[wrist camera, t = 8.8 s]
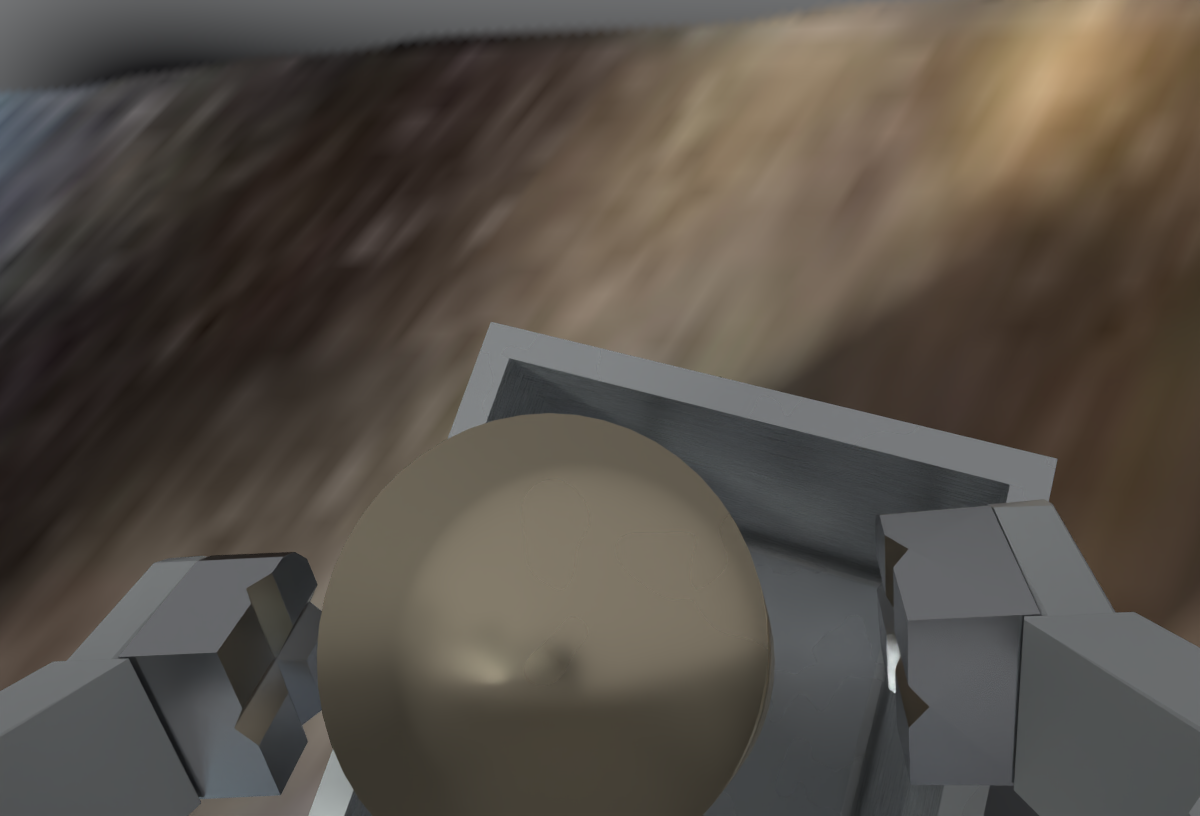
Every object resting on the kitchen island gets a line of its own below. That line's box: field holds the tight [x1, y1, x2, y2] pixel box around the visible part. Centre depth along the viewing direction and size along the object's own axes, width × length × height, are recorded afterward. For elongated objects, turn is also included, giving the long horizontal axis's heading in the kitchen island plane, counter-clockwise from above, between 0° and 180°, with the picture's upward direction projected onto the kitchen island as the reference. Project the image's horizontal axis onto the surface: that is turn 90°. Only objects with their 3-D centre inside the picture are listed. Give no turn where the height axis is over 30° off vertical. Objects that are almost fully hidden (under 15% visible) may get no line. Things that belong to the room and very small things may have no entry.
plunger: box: [317, 413, 881, 816], centre depth 18 cm, size 8×8×22 cm
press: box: [309, 322, 1057, 816], centre depth 22 cm, size 13×10×16 cm
